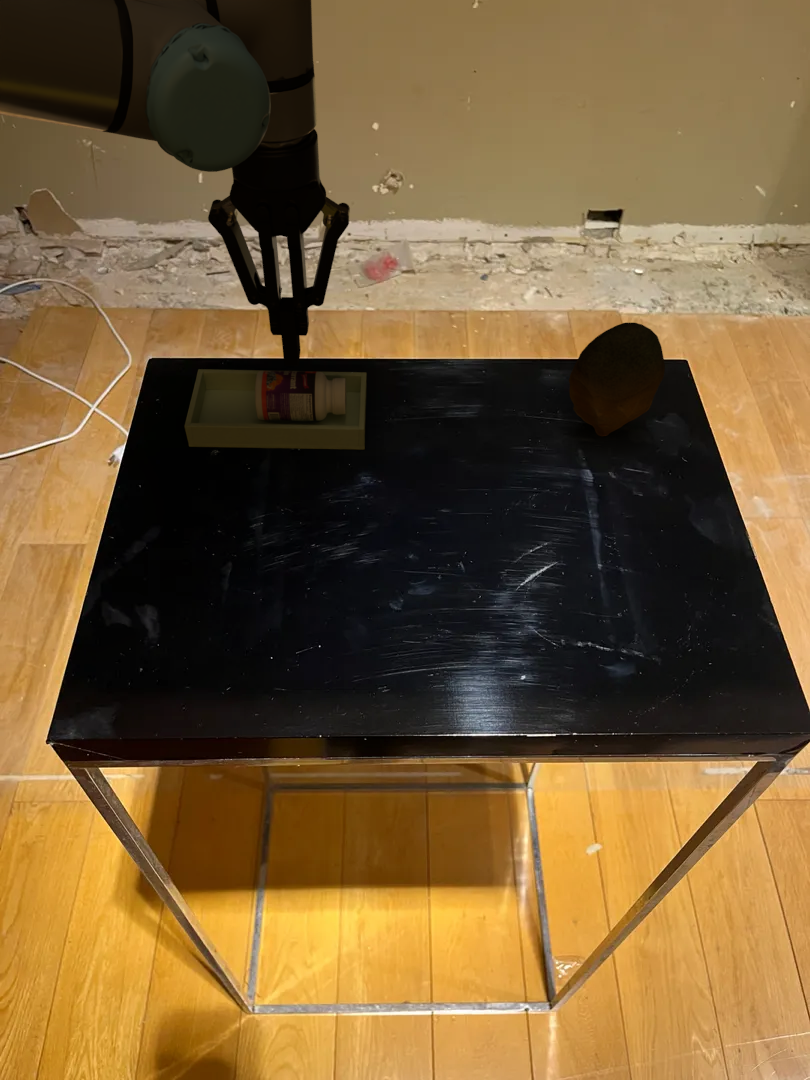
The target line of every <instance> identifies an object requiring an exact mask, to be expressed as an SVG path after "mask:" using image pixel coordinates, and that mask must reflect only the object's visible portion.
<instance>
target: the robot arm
mask: <svg viewBox="0 0 810 1080" xmlns="http://www.w3.org/2000/svg"><path fill="white" fill-rule="evenodd" d="M312 11H313V10H312V0H0V116H6V117H12V118H18V119H23V120H30V121H35V122H36V121H37V122H41V123H49V124H53V125H60V126H67V127H72V128H79V129H85V130H89V131H90V130H91V131H96V132H103V133H109V134H114V135H121V136H125V137H130V138H135V139H141V140H147V141H152V142H156V143H157V144H158V146H159V147H160V148H161V150H163V152H165V153H166V154H167V155H169V156H171V157H174V158H175V159H176V160H177V161H178V162H180V163H182V164H183V165H185V166H187V167H189V168H191V169H193V170H196V171H200V172H206V173H207V172H208V173H216V172H222V171H225V170H229V169H231V171H232V172H231V173H232V184H231V187H230V190H229V195H228V196H226V197H225V198H223V199H222V200H221V199H214V200H213V201H212V203H211V205H210V209H209V212H208V217H207V220H208V222H209V224H210V225H211V226H212V227H213V228H214V229H215V231H216V232H217V233H218V235H220V237H222V240H223V243H224V246H225V247H226V251H227V252H228V255H229V257H230V260H231V263H232V265H233V268H234V270H235V272H236V275H237V277H238V280H239V282H240V284H241V287H242V290H243V293H244V294H245V297H246V299H247V301H248V303H249V304H250V305H253V306H257V305H262V306H264V307H265V308H266V309H267V312H268V322H269V329H270V330H269V331H270V333H271V335H272V336H281V346H282V356H283V365H284V367H299V365H300V357H301V339H300V336H303V337H307V335H308V333H309V326H310V320H309V319H310V317H309V308H310V307H312V306H315V307H321V306H323V305H324V303H325V299H326V294H327V289H328V285H329V281H330V277H331V272H332V267H333V263H334V261H335V255H336V251H337V246H338V242H339V239H340V238H341V236H342V235H343V234H344V232H345V231H346V229H347V228H348V226H349V224H350V213H351V208H350V205H349V204H348V203H346V202H340V203H337V202H335V201H334V200H333V199H331V198H330V197H328V196H327V191H326V188H325V186H324V184H323V183H322V180H321V177H320V175H321V174H320V158H319V156H320V155H319V138H318V137H319V136H318V135H319V134H318V131H317V130H316V129H315V128H316V127H317V123H318V113H317V112H318V111H317V93H316V76H315V75H316V74H315V65H314V64H315V62H314V47H313V46H314V43H313V14H312ZM321 212H322V225H323V226H324V227H325V230H324V234H323V237H322V241H321V242H322V243H321V247H320V252H319V257H318V262H317V266H316V271H315V275H314V279H313V284H312V286H308V282H307V279H308V278H307V267H306V253H305V238H304V237H305V236H304V233H306V232H307V230H308V229H309V228H310V226H311V225H312V224H313V222H314V221H315V220H316V218H318V216H319V214H320V213H321ZM239 214H240V215H241V216H242V217H243V218H244V220H245V221H246V222H247V223H248V224H249V225H250V227H251V228H252V229H253V230H254V231H255V232H257V234H258V243H259V248H260V254H261V255H260V256H261V264H262V265H261V266H262V273H263V282H262V280H261V277H260V275H259V272H258V270H257V266H256V264H255V261H254V258H253V257H252V253H251V251H250V249H249V247H248V243H247V241H246V239H245V236H244V234H243V231H242V228H241V226H240V223H239V221H238V217H239ZM280 236H281V237H284V238H286V242H287V244H286V245H287V250H288V259H289V270H290V281H291V293H292V296H282V292H283V291H282V290H283V287H282V284H281V273H280V272H281V271H280V261H279V251H278V240H277V239H278V238H277V237H280ZM263 283H264V284H263Z"/></svg>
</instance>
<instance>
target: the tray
mask: <svg viewBox="0 0 810 1080" xmlns="http://www.w3.org/2000/svg"><path fill="white" fill-rule="evenodd" d="M259 371H264V370H257V369H256V370H255V369H213V368H212V369H208V368H206V369H205V368H204V369H203V368H201V369H200V368H198V369H197V373H196V378H195V381H194V385H193V390H192V394H191V397H190V401H189V406H188V411H187V414H186V418H185V422H184V431H185V434H186V439H187V443H188V447H190V448H245V449H246V448H247V449H250V448H252V449H301V450H303V449H305V450H306V449H310V450H357V451H358V450H364V451H365V450H366V448H365V447H366V422H367V420H366V419H367V396H368V395H367V392H368V391H367V390H368V389H367V388H368V387H367V385H368V384H367V382H368V381H367V372H364V371H363V372H360V371H359V372H357V371H321V372H322V373H323V374H325V376H326V378H327V380H333V378H334V379H335V378H345V379H346V414H341V415H336V414H333V413H332V412H329V413H327V415H326V417H325V418H324V419H323V420H321V421H285V420H280V421H279V420H260V419H259V418H258V417H257V412H256V405H255V382H256V376H257V373H258V372H259ZM312 371H313V370H312ZM313 372H316V371H313Z"/></svg>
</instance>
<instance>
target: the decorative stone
mask: <svg viewBox="0 0 810 1080" xmlns="http://www.w3.org/2000/svg"><path fill="white" fill-rule="evenodd" d="M665 370H666V364H665V358H664V353H663V347H662V345H661V342H660V339H659V337H658V335H657V334H656V333H655V332H654V331H653V330H652V329H651V328H649V327H647V326H646V325H643V323H637V322H622V323H619V324H616V325H615V326H613V327H611V328H608V329H607V330H604V331H602V333H600V334H599V335H598V336H596V337H595V338H593V339H592V340H591V341H590V342H589V343H588V344H586V346H585V347H584V348H583V350H582V351H581V352H580V354H579V356H578V358H577V360H576V361H575V363H574V366H573V368H572V371H571V372H570V374H569V378H568V382H569V388H568V389H569V390H568V391H569V393H568V394H569V399H570V400H571V402H572V404H573V408H572V410H573V412H574V413H575V414H576V415H577V416H578V417H579V418H580V419H581V420H582V421H583V422H584V423H586V424H587V425H590V426H592V427H593V429H594V432H595V434H596V435H597V436H599V437H607V436H609V435H610V434H611V433H613V432H615V431H617V430H618V429H620V428H622V427H624V426H625V425H626V424H628V423H630V422H632V421H634V420H635V419H637V418H639V417H640V416H642V415H643V414H645V413H647V411H649V410H650V409H651V406H652V405H653V400H654V398H655V395H656V393H657V391H658V389H659V387H660V384H661V383H662V381H663V379H664V376H665V373H666V372H665Z"/></svg>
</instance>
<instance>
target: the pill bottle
mask: <svg viewBox="0 0 810 1080" xmlns="http://www.w3.org/2000/svg"><path fill="white" fill-rule="evenodd" d="M322 372H323V371H315V372H313V370H312V371H311V370H310V371H305V370H263V371H259V372H258V373H257V376H256V382H255V405H256V412H257V417H258V418H259V419H260V420H279V421H280V420H285V421H321V420H323V419H324V418H325V417H326V415H327V413H329V412H332V413H333V414H336V415H341V414H346V379H345V378H335V379H334V378H333V380H327V378H326V376H325V374H323V373H322Z"/></svg>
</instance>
